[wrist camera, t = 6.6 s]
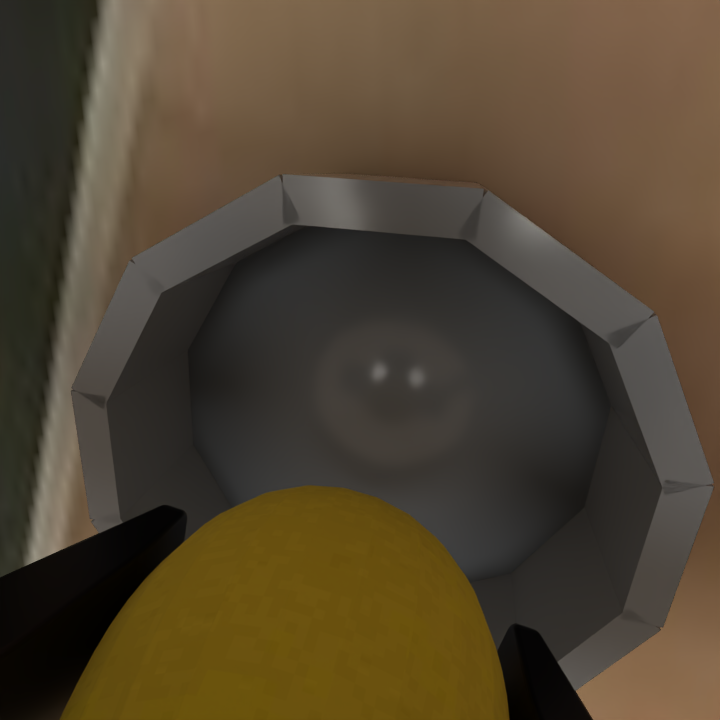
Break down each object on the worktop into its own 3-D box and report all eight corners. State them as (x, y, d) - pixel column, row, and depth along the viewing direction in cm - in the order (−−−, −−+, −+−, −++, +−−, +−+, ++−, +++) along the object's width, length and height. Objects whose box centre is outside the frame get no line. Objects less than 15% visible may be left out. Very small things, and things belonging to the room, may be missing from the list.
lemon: (391, 670, 12) (266, 1508, 4) (188, 536, 12) (-299, 1179, 4) (556, 518, 10) (852, 1648, 2) (312, 349, 9) (-239, 993, 2)
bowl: (687, 529, 14) (779, 676, 10) (302, 621, 18) (253, 755, 14) (522, 73, 11) (556, 18, 7) (105, 300, 15) (-30, 348, 11)
